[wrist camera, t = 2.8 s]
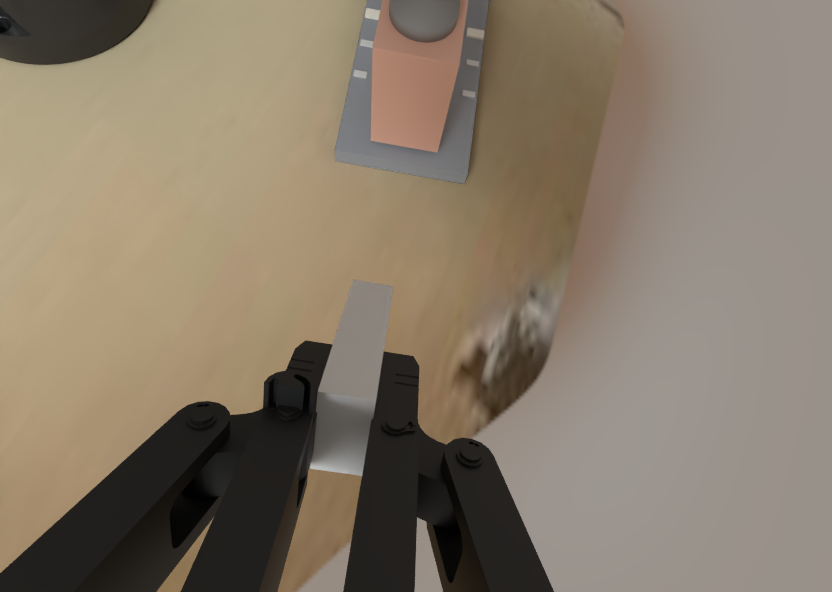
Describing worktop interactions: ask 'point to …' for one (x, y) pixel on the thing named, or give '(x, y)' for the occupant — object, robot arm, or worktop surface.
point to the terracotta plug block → (415, 70)
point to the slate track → (459, 120)
